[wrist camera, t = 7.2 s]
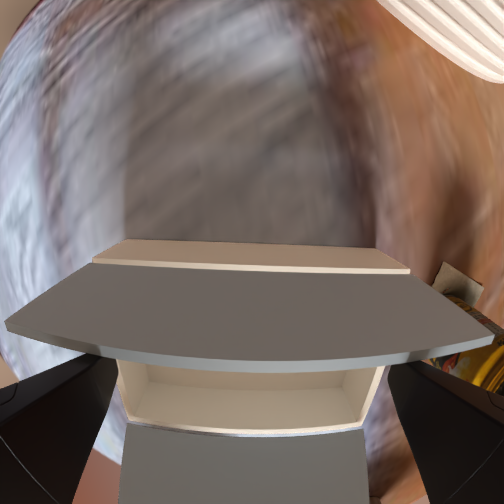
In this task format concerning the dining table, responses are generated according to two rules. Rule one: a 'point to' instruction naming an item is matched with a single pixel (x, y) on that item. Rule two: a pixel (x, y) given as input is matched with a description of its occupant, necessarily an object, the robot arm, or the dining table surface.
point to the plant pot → (374, 500)
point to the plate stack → (459, 31)
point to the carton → (243, 383)
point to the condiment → (479, 359)
